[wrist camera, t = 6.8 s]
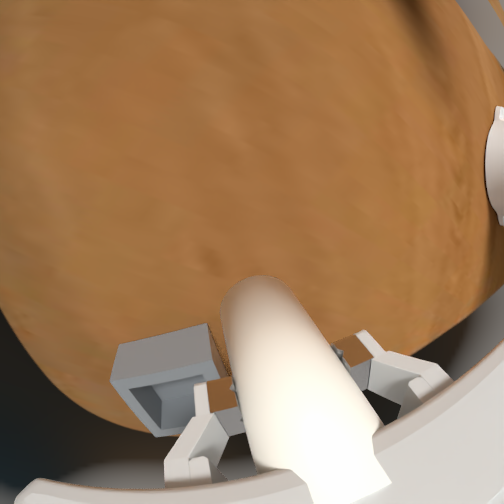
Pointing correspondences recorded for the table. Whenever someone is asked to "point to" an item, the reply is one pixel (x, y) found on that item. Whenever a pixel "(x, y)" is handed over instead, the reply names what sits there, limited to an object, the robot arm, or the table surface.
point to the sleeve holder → (166, 376)
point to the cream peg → (298, 395)
